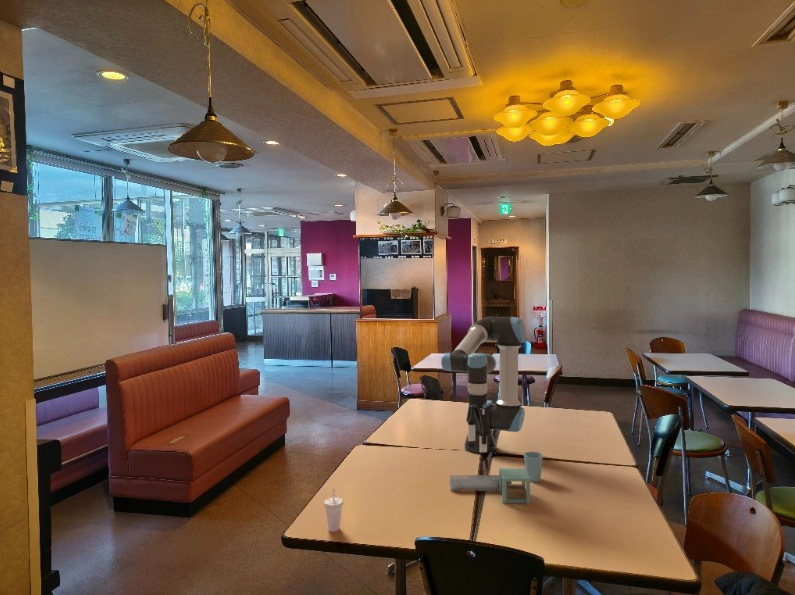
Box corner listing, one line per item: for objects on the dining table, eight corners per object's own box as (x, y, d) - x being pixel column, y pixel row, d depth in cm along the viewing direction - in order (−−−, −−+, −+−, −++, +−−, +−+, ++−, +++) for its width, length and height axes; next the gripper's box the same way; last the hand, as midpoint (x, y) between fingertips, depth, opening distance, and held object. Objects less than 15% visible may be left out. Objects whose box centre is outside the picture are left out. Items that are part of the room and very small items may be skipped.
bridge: (499, 492, 205) (499, 468, 204) (524, 492, 204) (524, 468, 204) (502, 503, 195) (502, 478, 194) (530, 503, 194) (530, 478, 194)
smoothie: (344, 524, 180) (343, 484, 180) (342, 533, 174) (342, 492, 173) (325, 524, 180) (324, 484, 179) (323, 534, 174) (322, 492, 173)
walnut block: (502, 495, 202) (502, 484, 202) (523, 495, 202) (523, 484, 202) (504, 501, 197) (504, 489, 197) (526, 501, 197) (526, 489, 197)
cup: (538, 484, 212) (538, 459, 211) (520, 480, 217) (520, 455, 216) (545, 478, 218) (545, 454, 217) (528, 474, 222) (528, 450, 222)
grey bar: (449, 487, 211) (449, 475, 210) (509, 487, 210) (509, 475, 210) (450, 491, 207) (450, 479, 206) (511, 491, 206) (511, 479, 206)
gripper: (458, 386, 217) (458, 437, 218) (479, 401, 193) (478, 457, 194) (476, 385, 219) (475, 435, 220) (498, 400, 194) (498, 456, 195)
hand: (477, 446), depth 207 cm, fingers open, 13 cm apart
